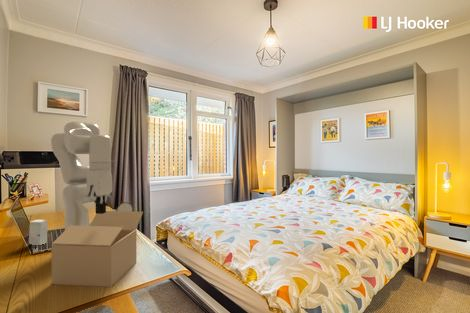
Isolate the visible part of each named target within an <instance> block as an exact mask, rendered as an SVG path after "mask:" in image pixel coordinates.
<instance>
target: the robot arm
mask: <svg viewBox="0 0 470 313" xmlns="http://www.w3.org/2000/svg"><path fill="white" fill-rule="evenodd" d="M100 133H101V132H100V128H99V126H98V125H97V124H95V123H92V122H82V121H70V122H67V123H66V124H65V125H64V127H63V132H59V133H58V132H57V133H55V134H53V135H51V136H52V137H51V138H50V146H51V150H52V152H53V155H54V156H55V158H56V159H57V161H58V162H59V167H60V172H61V176H62V180H63V181H64V183H65V185H67V186H65V187H64V188H63V189H62V199H63V205H64V231H65V230H66V229H67V228H68V227H69V226H70V225H73V226H90V211H89V209H88V208H87V207H86V206H85V205H84V204H86V203H94V204H95V215H96V214H103V213H106V211H107V201H108V197H110V196H111V193H112V192H113V175H112V138H111V137H110V136H108V135H106V134H105V135H100ZM78 155H88V156H89V158H88V163H89V164H87V165H83V164H82V163H81V160H80V157H79V156H78Z"/></svg>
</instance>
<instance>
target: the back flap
mask: <svg viewBox="0 0 470 313" xmlns="http://www.w3.org/2000/svg"><path fill="white" fill-rule="evenodd" d="M143 213H144V211H134V210H133V211H108V210H106V213H103V214H96V213H95V216H94V218H93V219H92V220H91V221H90V223H89V226H108V227H123V228H122V229H125V230H136V231H137V228H138V225H139V223H140V221H141V218H142V216H143Z"/></svg>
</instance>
